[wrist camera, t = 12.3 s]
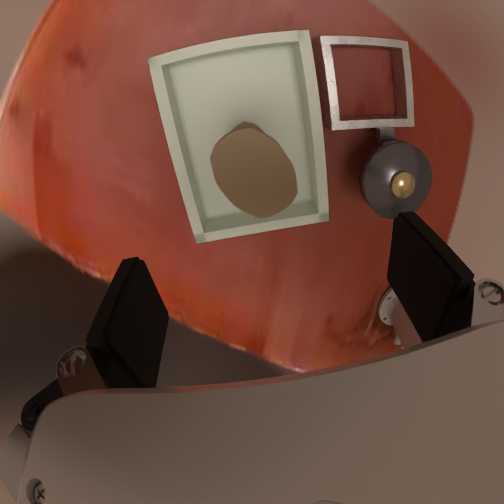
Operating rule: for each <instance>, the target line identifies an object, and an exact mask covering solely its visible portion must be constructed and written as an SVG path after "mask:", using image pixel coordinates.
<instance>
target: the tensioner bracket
mask: <svg viewBox="0 0 504 504" xmlns="http://www.w3.org/2000/svg"><path fill="white" fill-rule="evenodd" d="M313 44H314V50H315V56H316V63H317V69H318V76H319V83H320V91H321V99H322V107H323V116H324V125H325V127H327V128H329V129H331V130H344V129H359V128H376V135H377V147H375V148H374V149H373V150H372V151H371V152H370V153H369V154H368V156H367V157H366V159H365V160H364V162H363V165H362V167H361V171H360V176H359V186H360V191H361V194H362V196H363V198H364V200H365V201H366V203H367V204H368V205H369V206H370V207H371V208H372V209H373V210H374V211H375V212H376V213H377V214H378V215H380V216H382V217H384V218H388V219H394V218H395V217H397V215H398V214H399V213H402V212H409V211H413V212H415V211H416V210H417V209H418V208H419V207H420V206H421V205H422V203H423V202H424V201H425V199H426V197H427V195H428V193H429V190H430V187H431V181H432V172H431V167H430V164H429V161H428V159H427V157H426V156H425V155H424V153H423V152H422V151H420V150H419V149H418V148H416V147H414V146H412V145H410V144H408V143H406V142H403V141H399V140H395V129H394V128H392V127H414V104H413V87H412V74H411V64H410V55H409V48H408V41H402V40H394V39H384V38H373V37H357V36H319V37H317V38H314V39H313ZM331 47H369V48H384V49H390V55H391V63H392V72H393V83H394V95H395V112H396V115H368V116H347V117H340V116H339V106H338V97H337V88H336V80H335V72H334V65H333V58H332V52H331Z"/></svg>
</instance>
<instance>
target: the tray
mask: <svg viewBox="0 0 504 504" xmlns="http://www.w3.org/2000/svg"><path fill="white" fill-rule="evenodd" d="M148 63H149V68H150V72H151V77H152V81H153V86H154V90H155V94H156V98H157V103H158V107H159V111H160V115H161V119H162V123H163V127H164V131H165V135H166V139H167V143H168V146H169V150H170V154H171V158H172V161H173V165H174V169H175V172H176V176H177V179H178V183H179V186H180V190H181V193H182V197H183V200H184V204H185V207H186V210H187V214H188V217H189V220H190V224H191V227H192V230H193V234H194V237H195V240H196V243H203V242H208V241H214V240H219V239H225V238H231V237H236V236H242V235H248V234H254V233H259V232H265V231H271V230H277V229H283V228H289V227H295V226H301V225H307V224H313V223H319V222H326V221H329V207H328V188H327V172H326V159H325V147H324V136H323V126H322V117H321V108H320V100H319V92H318V84H317V77H316V70H315V64H314V58H313V51H312V46H311V40H310V34H309V30H298V31H283V32H272V33H262V34H254V35H247V36H240V37H234V38H228V39H223V40H217V41H212V42H208V43H203V44H199V45H194V46H190V47H186V48H182V49H178V50H175V51H171V52H168V53H164V54H161V55H158V56H154V57H151V58H148ZM242 122H248V123H253V124H256V125H257V126H259V127H260V128H261V129H262V130H263V131H264V132H265V134H267V135H269V136H270V137H272V138H273V139H275V140H276V141H277V142H278V143H279V145H280V146H281V148H282V149H283V151H284V152H285V153H286V155H287V156H288V158H289V159H290V161H291V162H292V164H293V166H294V169H295V173H296V180H297V190H298V193H297V195H296V197H295V199H294V201H293V202H292V203H291V204H290V205H289V206H288V207H287V208H286V209H284V210H283V211H281V212H280V213H278V214H276V215H273V216H270V217H266V218H257V217H255V216H252V215H250V214H248V213H246V212H244V211H242V210H240V209H239V208H237V207H235V206H234V205H233V204H232V203H231V202H230V201H229V200H228V198H227V197H226V196H225V195H224V194H223V192H222V191H221V190H220V188H219V187H218V185H217V184H216V181H215V178H214V175H213V171H212V166H211V162H210V156H211V153H212V150H213V148H214V146H215V144H216V143H217V142H218V141H219V140H220V139H221V138H222V137H223V136H224V135H225V134H227V133H228V132H230V131H232V130H233V128H235V127H236V126H237V125H239V124H241V123H242Z"/></svg>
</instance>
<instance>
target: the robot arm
mask: <svg viewBox="0 0 504 504" xmlns="http://www.w3.org/2000/svg"><path fill="white" fill-rule="evenodd" d="M387 278H388V282H389V284H390V286H391V287H390V288H389V289H388V290H387V291H386V293H385V294H384V295H383V297H382V299H381V301H380V303H379V306H378V315H379V317H380V319H381V321H382V322H383V323H385V324H386V325H390V326H393V327H394V329H395V333H396V334H395V337H394V341H393V342H394V344H396V345H400V344H401V343H402V346H403V348H404V349H401V350H397V351H394V352H390V353H387V354H383V355H380V356H376V357H372V358H368V359H364V360H360V361H356V362H352V363H347V364H343V365H338V366H334V367H329V368H324V369H319V370H314V371H309V372H304V373H298V374H292V375H286V376H280V377H273V378H266V379H259V380H251V381H243V382H234V383H225V384H213V385H200V386H183V387H160V388H156V383H157V377H158V372H159V366H160V361H161V356H162V350H163V344H164V340H165V335H166V330H167V326H168V320H169V315H168V311H167V309H166V307H165V305H164V303H163V301H162V299H161V297H160V295H159V293H158V290H157V288H156V286H155V284H154V282H153V280H152V277H151V275H150V273H149V271H148V268H147V266H146V264H145V262H144V261H143V260H140V259H139V258H138V257H133V258H128V259H123V260H122V262H121V264H120V266H119V268H118V270H117V272H116V274H115V276H114V278H113V280H112V282H111V284H110V286H109V288H108V290H107V292H106V294H105V296H104V299H103V301H102V303H101V305H100V307H99V309H98V312H97V314H96V316H95V318H94V321H93V323H92V325H91V328H90V330H89V332H88V335H87V337H86V340H85V341H86V342H87V343H88V344H87V346H86V348H84V347H75V348H72V349H70V350H68V351H67V352H66V353H64V354H63V356H62V357H61V358H60V359H59V361H58V364H57V368H56V372H57V377H58V378H57V379H56V380H54V381H53V382H52V383H50V384H49V385H48V386H47V387H45V388H44V389H43V390H42V391H40V392H39V393H38V394H36V395H35V396H34V397H32V398H31V399H30V400H29V401H28V402H27V403H26V404H25V406H24V407H23V410H22V413H21V421H22V425H21V424H19V423H18V424H17V425H16V426H15V428H14V429H13V430H12V432H11V433H10V434H9V436H8V437H7V438H6V440H5V441H4V443H3V444H2V445H1V447H0V478H1V479H2V481H3V483H4V485H5V486H6V488H7V489H8V491H9V492H10V494H11V495H12V497H13V499H14V500H15V502H16V503H17V504H504V286H503V285H502V284H501V283H499V282H498V281H496V280H493V279H488V278H485V279H481V280H479V281H478V282H477V283H475V282H474V281H473V278H474V274H473V273H472V271H471V270H470V269H469V268H468V267H467V266H466V265H465V264H464V262H462V260H461V259H460V258H459V257H458V256H457V255H456V254H455V253H454V252H453V250H452V249H451V248H450V247H449V246H448V245H447V244H446V243H445V242H444V241H443V240H442V239H441V238H440V237H439V236H438V235H437V234H436V233H435V232H434V231H433V230H432V229H431V228H430V227H429V226H428V225H427V224H426V223H425V222H424V221H423V220H422V219H421V218H420V217H419V216H418V215H417V214H416V213H415V212H413V211H409V212H402V213H399V214H398V215H397V217H395V218H394V222H393V232H392V242H391V250H390V258H389V266H388V273H387Z"/></svg>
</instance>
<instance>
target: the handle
mask: <svg viewBox="0 0 504 504" xmlns="http://www.w3.org/2000/svg"><path fill="white" fill-rule="evenodd" d="M210 162H211V166H212V171H213V175H214V178H215V181H216V184H217V185H218V187H219V188H220V190H221V191H222V192H223V194H224V195H225V196H226V197H227V198H228V200H229V201H230V202H231V203H232V204H233V205H234V206H235V207H237V208H239V209H240V210H242V211H244V212H246V213H248V214H250V215H252V216H255V217H257V218H266V217H270V216H273V215H276V214H278V213H280V212H281V211H283V210H284V209H286V208H287V207H288V206H289V205H290V204H291V203H292V202H293V201H294V199H295V197H296V195H297V193H298V190H297V180H296V173H295V169H294V166H293V164H292V162H291V161H290V159H289V158H288V156H287V155H286V153H285V152H284V151H283V149H282V148H281V146H280V145H279V143H278V142H277V141H276V140H275V139H273V138H272V137H270V136H269V135H267V134H265V132H264V131H263V130H262V129H261V128H260V127H259V126H257V125H256V124H253V123H248V122H242V123H241V124H239V125H237V126H236V127H235V128H233V130H232V131H230V132H228V133H227V134H225V135H224V136H223V137H222V138H221V139H220V140H219V141H218V142H217V143H216V144H215V146H214V148H213V150H212V153H211V156H210Z"/></svg>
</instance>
